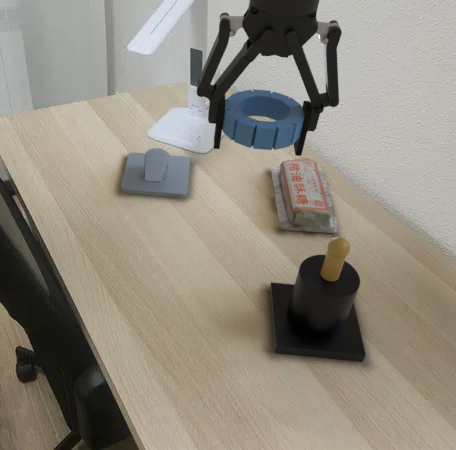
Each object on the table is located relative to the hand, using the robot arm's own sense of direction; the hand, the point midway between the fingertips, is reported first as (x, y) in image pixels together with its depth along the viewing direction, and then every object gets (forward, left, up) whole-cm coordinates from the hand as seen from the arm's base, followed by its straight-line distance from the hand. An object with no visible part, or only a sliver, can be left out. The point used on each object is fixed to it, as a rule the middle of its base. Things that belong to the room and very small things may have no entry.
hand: (256, 146), depth 73 cm
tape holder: (-11, +10, -23) cm, 27 cm away
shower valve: (+15, -22, -23) cm, 35 cm away
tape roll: (0, 0, +3) cm, 3 cm away
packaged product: (-12, -19, -23) cm, 32 cm away
